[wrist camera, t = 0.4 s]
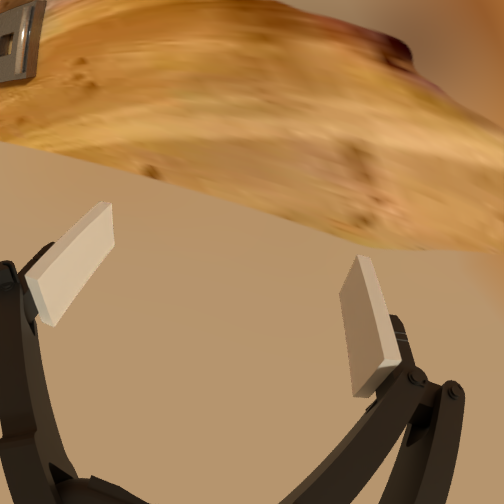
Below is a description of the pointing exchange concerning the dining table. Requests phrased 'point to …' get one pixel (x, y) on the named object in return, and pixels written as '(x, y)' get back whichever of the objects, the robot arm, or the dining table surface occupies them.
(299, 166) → the dining table surface
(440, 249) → the dining table surface
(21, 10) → the grey flat square block
